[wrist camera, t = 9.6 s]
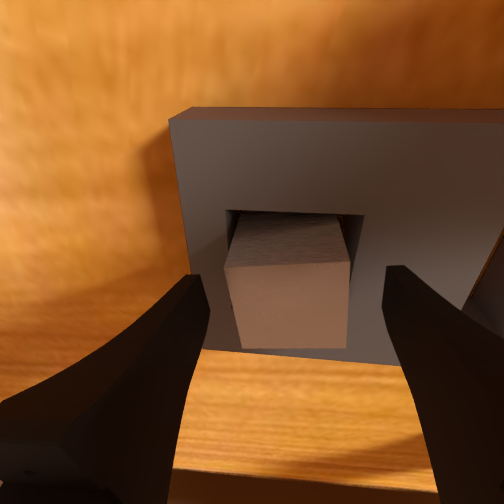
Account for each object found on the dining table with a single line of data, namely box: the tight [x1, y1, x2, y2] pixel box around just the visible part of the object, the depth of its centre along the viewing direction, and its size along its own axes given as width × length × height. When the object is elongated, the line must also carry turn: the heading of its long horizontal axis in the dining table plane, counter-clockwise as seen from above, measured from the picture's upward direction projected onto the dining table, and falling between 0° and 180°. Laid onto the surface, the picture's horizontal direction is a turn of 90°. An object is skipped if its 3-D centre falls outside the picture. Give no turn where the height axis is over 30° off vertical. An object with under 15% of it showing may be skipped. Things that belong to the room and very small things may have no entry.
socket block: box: [168, 107, 504, 366], centre depth 14 cm, size 18×12×3 cm, turn 90°
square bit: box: [224, 210, 350, 349], centre depth 13 cm, size 4×4×6 cm
